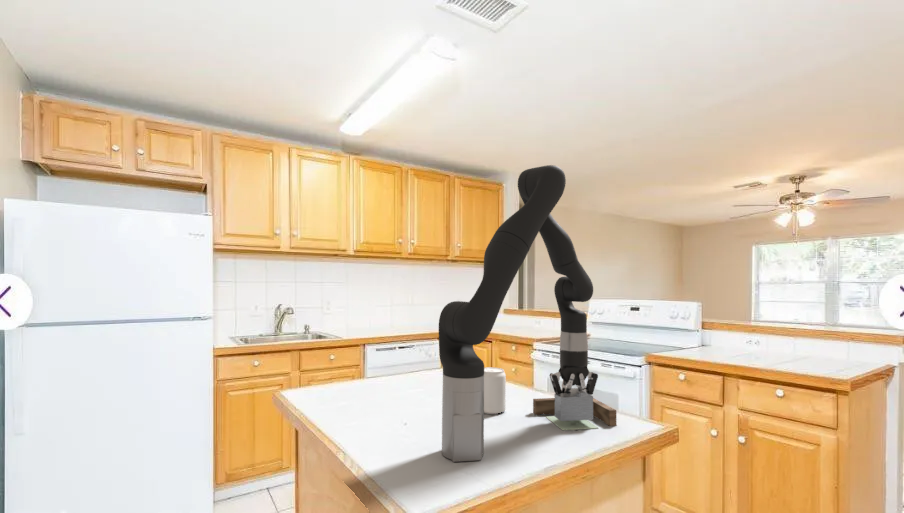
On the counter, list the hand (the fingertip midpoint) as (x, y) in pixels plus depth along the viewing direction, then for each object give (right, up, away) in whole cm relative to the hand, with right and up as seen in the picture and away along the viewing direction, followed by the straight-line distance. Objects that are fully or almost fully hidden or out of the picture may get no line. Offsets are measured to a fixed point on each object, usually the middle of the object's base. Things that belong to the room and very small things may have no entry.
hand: (573, 410), depth 123 cm
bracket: (-2, 0, -3) cm, 4 cm away
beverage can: (-22, -3, +7) cm, 23 cm away
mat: (-2, -2, -3) cm, 4 cm away
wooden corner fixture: (0, -3, 0) cm, 3 cm away
